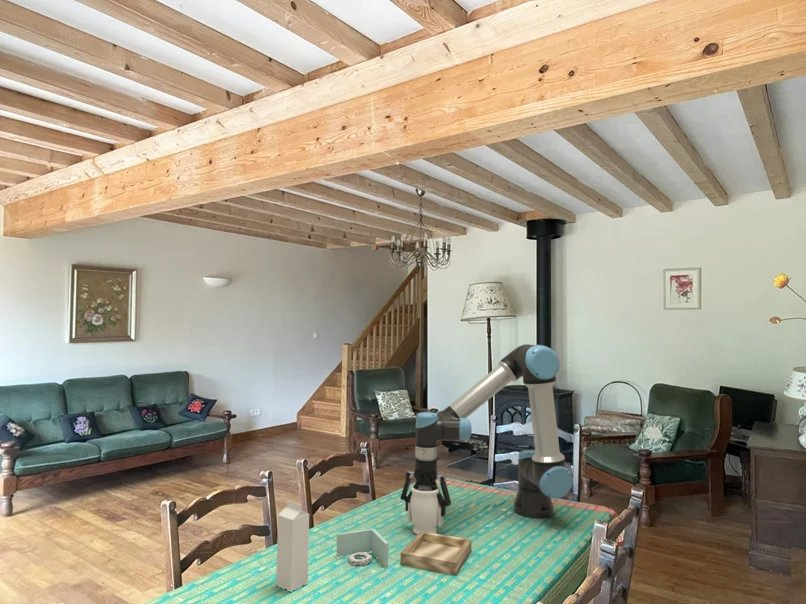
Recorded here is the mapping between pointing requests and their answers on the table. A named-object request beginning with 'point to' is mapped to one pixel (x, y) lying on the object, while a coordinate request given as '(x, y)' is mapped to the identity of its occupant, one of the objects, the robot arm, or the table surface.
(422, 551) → the wooden tray
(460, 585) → the table surface
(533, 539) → the table surface
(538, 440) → the robot arm
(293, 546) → the milk
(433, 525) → the jar
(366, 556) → the l-shaped corner panel
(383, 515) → the table surface
